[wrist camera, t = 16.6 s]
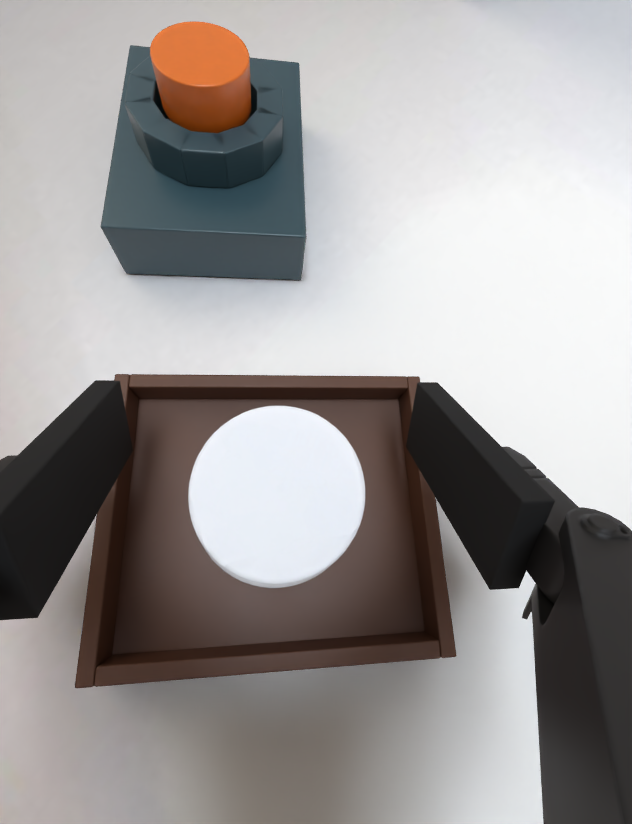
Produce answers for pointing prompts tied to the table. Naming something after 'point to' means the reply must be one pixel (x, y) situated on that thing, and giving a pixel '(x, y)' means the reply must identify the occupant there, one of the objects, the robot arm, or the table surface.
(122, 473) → the tray
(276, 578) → the pill bottle
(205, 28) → the console button
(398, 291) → the table surface
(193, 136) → the console
